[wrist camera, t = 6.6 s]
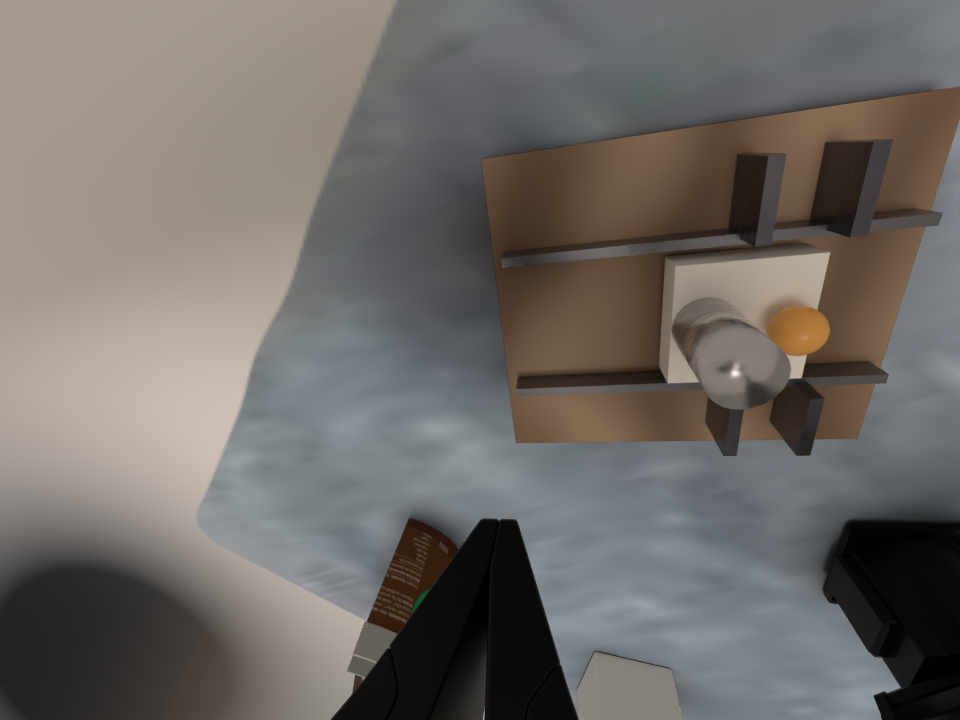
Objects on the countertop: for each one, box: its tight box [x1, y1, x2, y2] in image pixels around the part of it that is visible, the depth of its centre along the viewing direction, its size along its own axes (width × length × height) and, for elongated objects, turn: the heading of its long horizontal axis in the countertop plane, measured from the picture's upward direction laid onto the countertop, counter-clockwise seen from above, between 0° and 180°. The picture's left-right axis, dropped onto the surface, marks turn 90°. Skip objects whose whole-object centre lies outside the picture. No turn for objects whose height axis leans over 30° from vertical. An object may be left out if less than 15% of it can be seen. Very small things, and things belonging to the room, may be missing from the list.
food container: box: [347, 518, 459, 694], centre depth 27 cm, size 12×6×10 cm, turn 169°
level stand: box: [481, 87, 960, 456], centre depth 17 cm, size 16×14×4 cm
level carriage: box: [659, 243, 830, 409], centre depth 15 cm, size 5×5×6 cm
